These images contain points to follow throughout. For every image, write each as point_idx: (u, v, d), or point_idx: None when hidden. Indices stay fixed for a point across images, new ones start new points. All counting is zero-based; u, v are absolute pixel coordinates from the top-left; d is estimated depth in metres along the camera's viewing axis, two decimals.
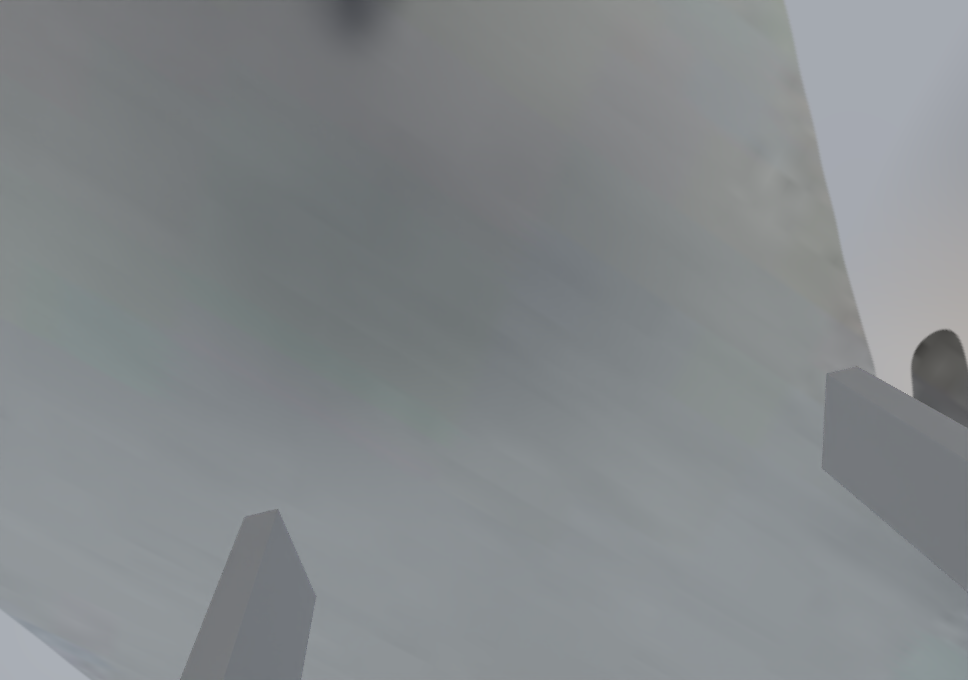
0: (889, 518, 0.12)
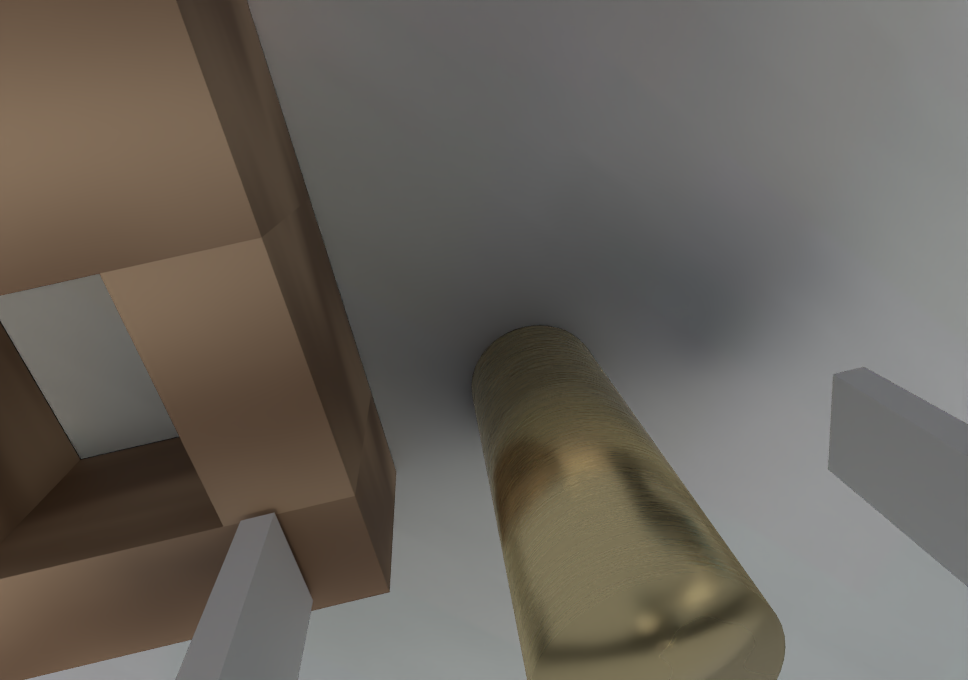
0: (897, 519, 0.12)
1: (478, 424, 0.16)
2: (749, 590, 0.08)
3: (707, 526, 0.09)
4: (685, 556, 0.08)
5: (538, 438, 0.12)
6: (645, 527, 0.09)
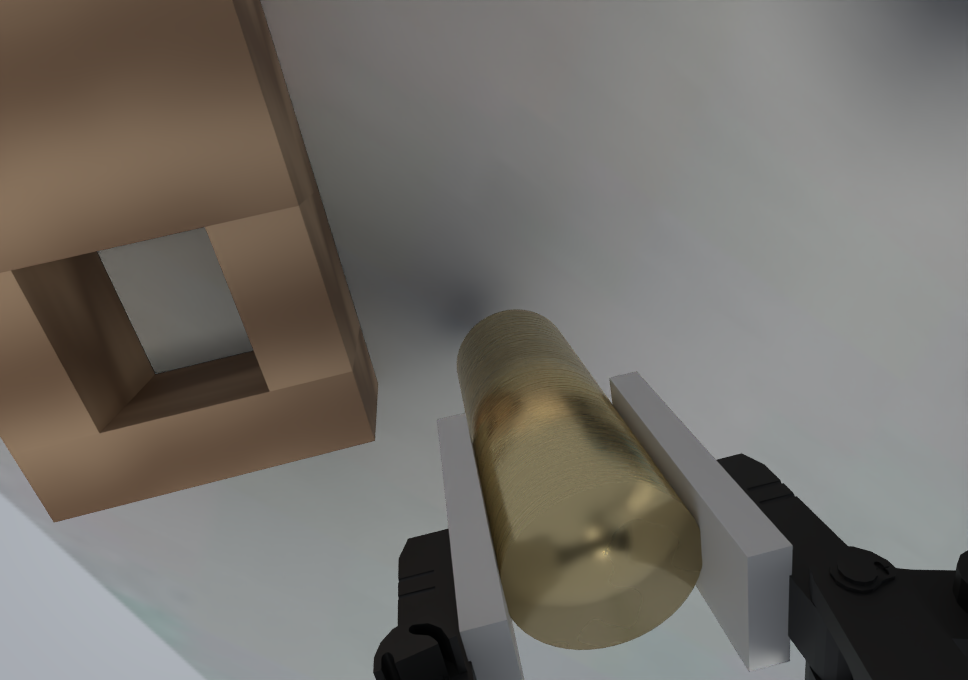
0: None
1: (462, 395, 0.18)
2: (671, 497, 0.10)
3: (644, 456, 0.12)
4: (621, 471, 0.10)
5: (511, 396, 0.14)
6: (592, 453, 0.11)
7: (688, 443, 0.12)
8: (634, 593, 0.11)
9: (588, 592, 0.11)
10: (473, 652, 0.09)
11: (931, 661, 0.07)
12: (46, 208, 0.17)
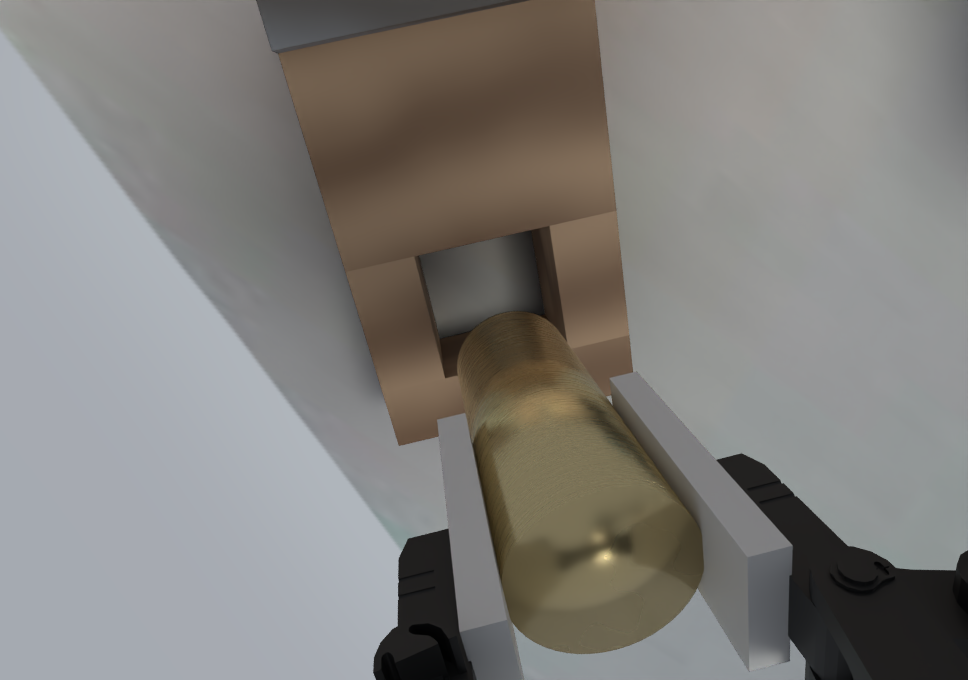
0: None
1: (462, 397, 0.18)
2: (672, 501, 0.10)
3: (646, 459, 0.12)
4: (623, 475, 0.10)
5: (512, 399, 0.14)
6: (593, 457, 0.11)
7: (688, 443, 0.12)
8: (635, 597, 0.11)
9: (589, 596, 0.11)
10: (473, 652, 0.09)
11: (930, 660, 0.07)
12: (448, 212, 0.24)
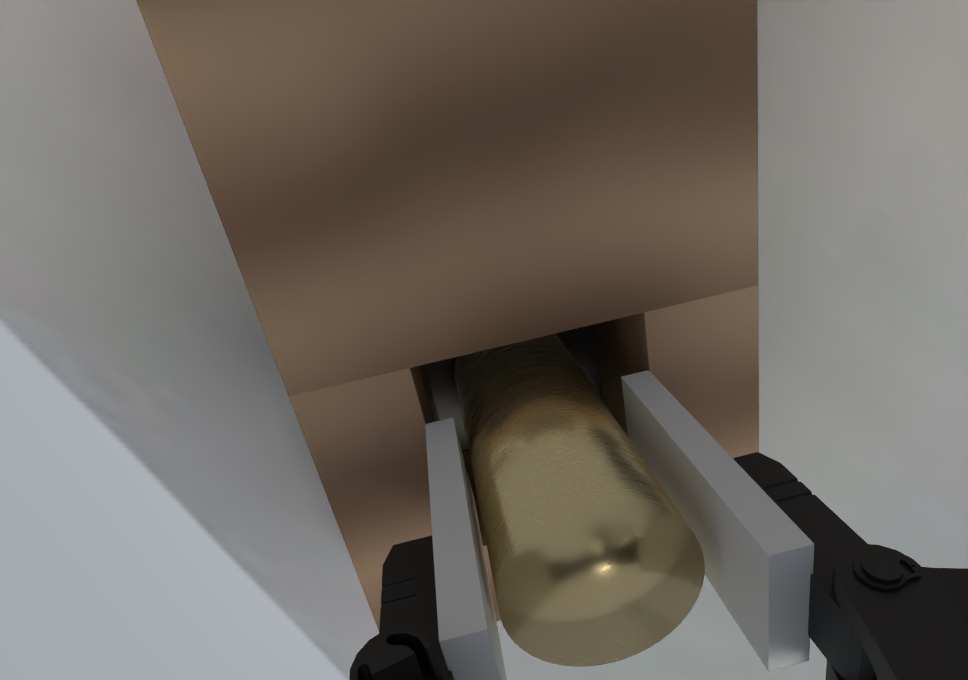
0: None
1: (460, 401, 0.18)
2: (672, 514, 0.10)
3: (645, 470, 0.11)
4: (622, 488, 0.10)
5: (509, 406, 0.14)
6: (592, 468, 0.11)
7: (703, 441, 0.12)
8: (634, 610, 0.11)
9: (586, 609, 0.11)
10: (453, 661, 0.09)
11: (957, 659, 0.07)
12: (469, 293, 0.13)
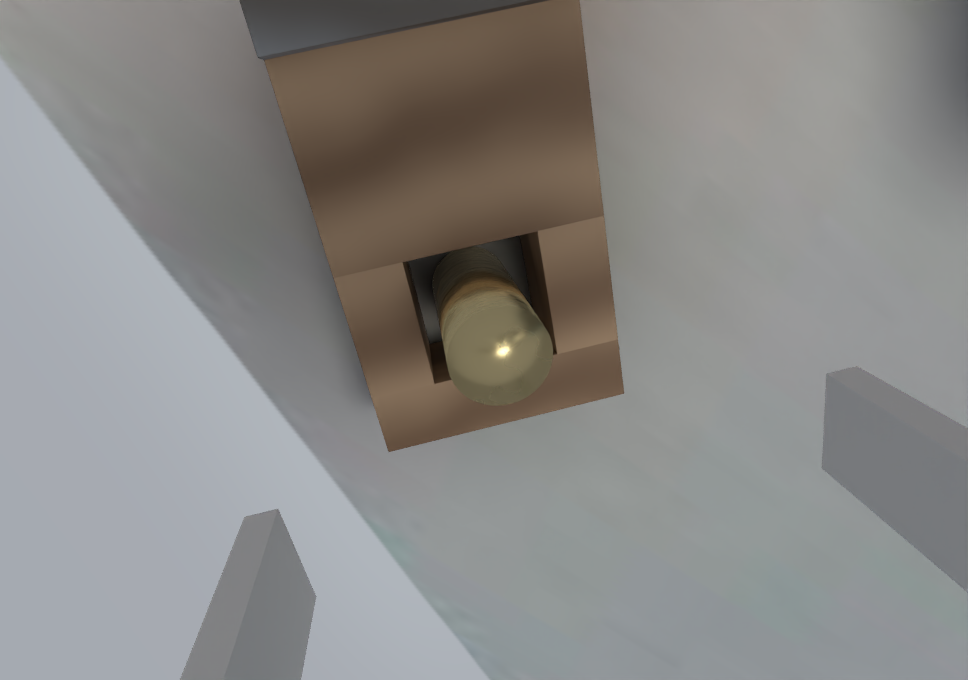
0: (889, 517, 0.12)
1: None
2: (532, 315, 0.20)
3: (526, 304, 0.22)
4: (508, 303, 0.21)
5: (459, 283, 0.24)
6: (495, 298, 0.21)
7: None
8: (517, 371, 0.21)
9: (493, 369, 0.21)
10: None
11: None
12: (435, 217, 0.24)
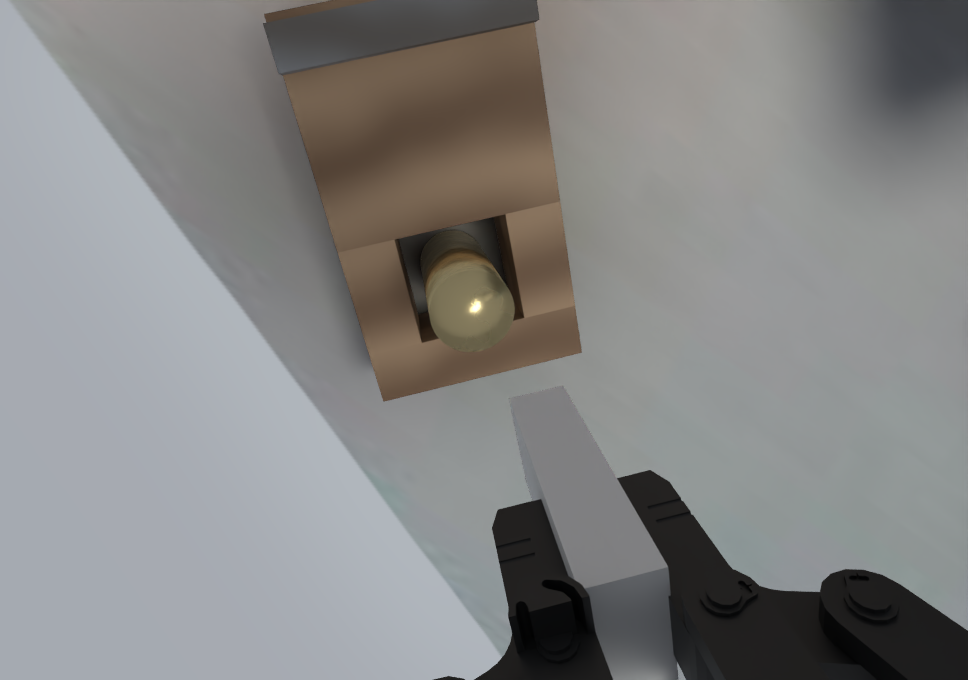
0: None
1: None
2: (497, 277, 0.26)
3: (493, 270, 0.27)
4: (478, 268, 0.26)
5: (441, 256, 0.29)
6: (468, 265, 0.26)
7: (594, 459, 0.12)
8: (486, 324, 0.26)
9: (466, 321, 0.26)
10: None
11: (794, 679, 0.07)
12: (421, 202, 0.29)
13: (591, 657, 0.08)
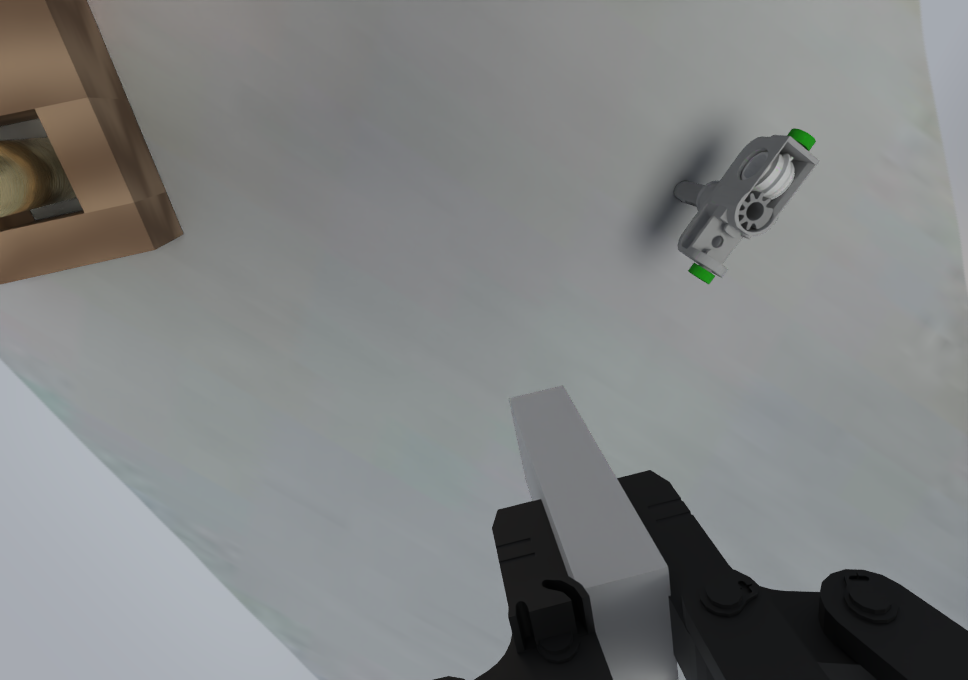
0: None
1: None
2: None
3: None
4: None
5: None
6: None
7: (594, 460, 0.12)
8: None
9: None
10: None
11: (793, 679, 0.07)
12: None
13: (591, 657, 0.08)
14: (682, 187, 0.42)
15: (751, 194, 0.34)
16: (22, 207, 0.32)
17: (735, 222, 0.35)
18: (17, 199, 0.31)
